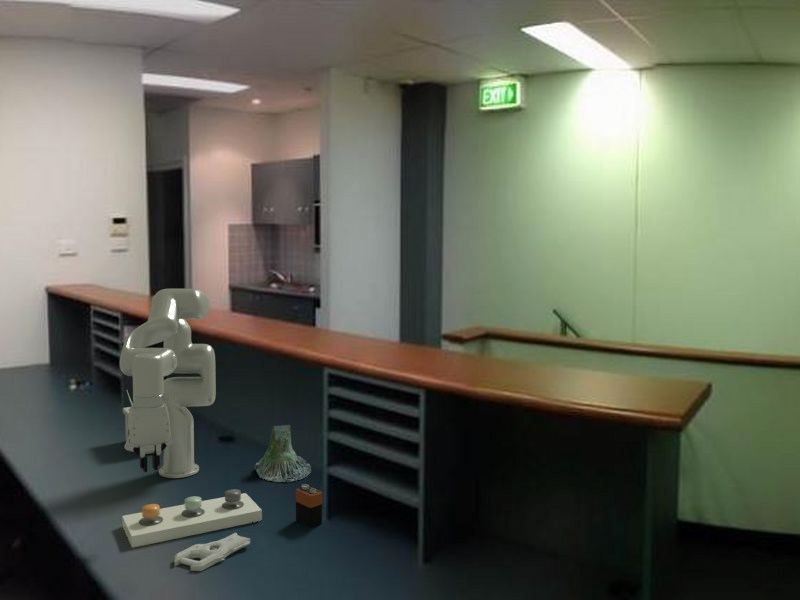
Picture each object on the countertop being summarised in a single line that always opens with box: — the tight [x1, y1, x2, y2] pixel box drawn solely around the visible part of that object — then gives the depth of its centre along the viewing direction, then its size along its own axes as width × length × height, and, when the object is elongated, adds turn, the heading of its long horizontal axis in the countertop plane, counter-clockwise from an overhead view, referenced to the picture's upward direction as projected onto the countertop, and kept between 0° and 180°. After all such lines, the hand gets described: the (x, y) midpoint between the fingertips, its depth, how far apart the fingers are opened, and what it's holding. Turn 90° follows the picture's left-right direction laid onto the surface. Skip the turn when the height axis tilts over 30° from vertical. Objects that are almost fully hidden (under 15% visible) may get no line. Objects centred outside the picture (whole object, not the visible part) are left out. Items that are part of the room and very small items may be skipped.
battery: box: [295, 483, 323, 528], centre depth 190 cm, size 4×7×10 cm, turn 46°
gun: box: [173, 532, 252, 572], centre depth 170 cm, size 18×4×10 cm
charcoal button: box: [224, 488, 242, 502], centre depth 193 cm, size 4×4×2 cm
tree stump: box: [253, 424, 312, 483], centre depth 229 cm, size 18×20×18 cm
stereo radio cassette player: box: [122, 389, 154, 455], centre depth 250 cm, size 21×8×20 cm, turn 35°
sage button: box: [184, 495, 202, 510], centre depth 187 cm, size 4×4×2 cm
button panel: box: [121, 492, 263, 549], centre depth 187 cm, size 14×34×3 cm, turn 121°
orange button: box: [141, 503, 161, 518], centre depth 181 cm, size 4×4×2 cm
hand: (150, 469), depth 180 cm, fingers closed
